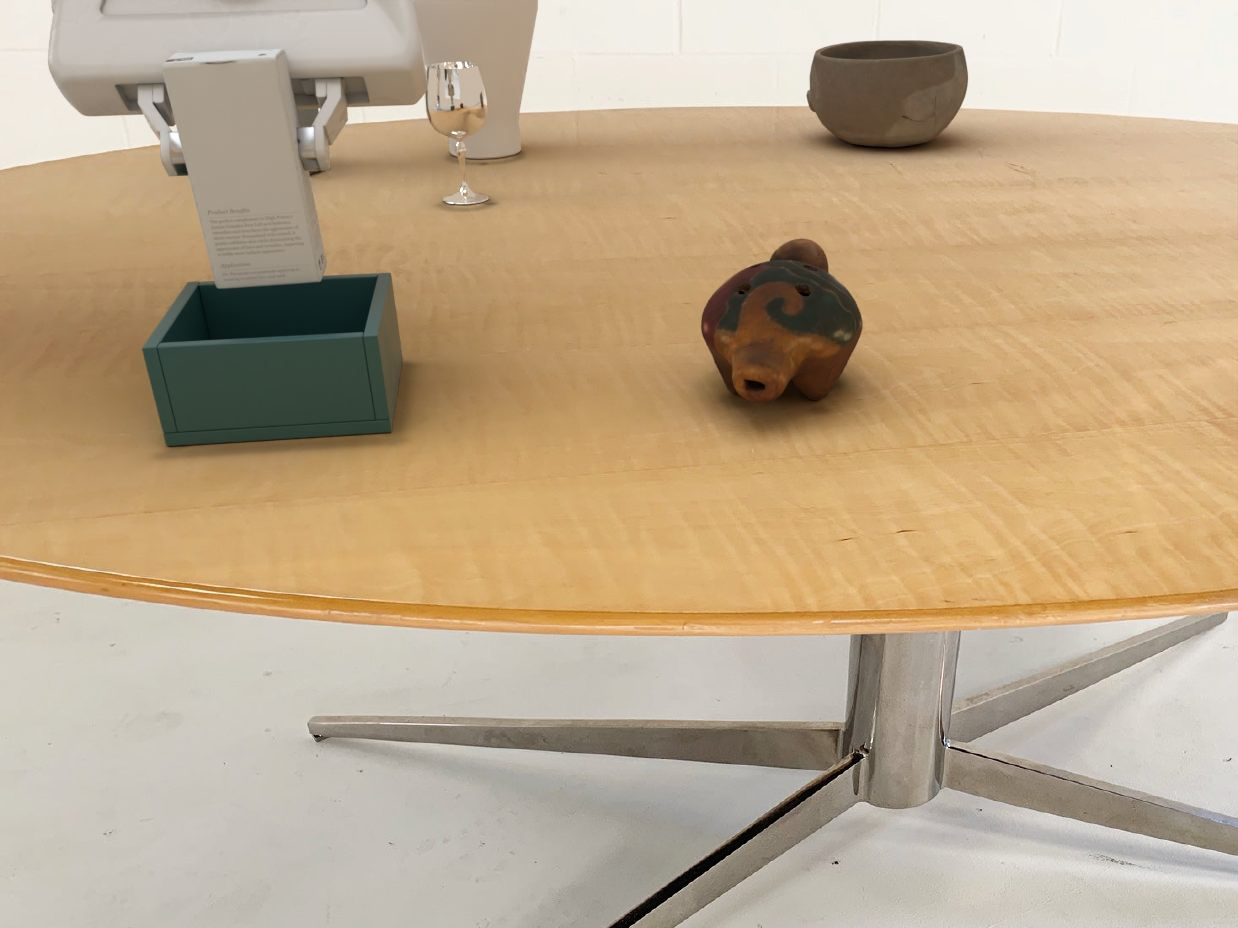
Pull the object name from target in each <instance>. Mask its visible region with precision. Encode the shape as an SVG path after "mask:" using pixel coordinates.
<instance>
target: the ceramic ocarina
mask: <svg viewBox="0 0 1238 928" xmlns="http://www.w3.org/2000/svg"><path fill="white" fill-rule="evenodd" d="M863 324H864V323H863V317H862V313H861V311H860V308H859V306H858V304H857V301H856V299H855V298H854V297H853V296H852V294H851V292H850V291H849V290H848V289H847V287H846V286H845V285H844V284H843V282H841V281H840V280H839V279H837V278H836V277H834V275H832V274H831V273H830V272H829V262H828V258H827V254H826V253H825V251H824V249H823V248H822V246H821V245H820V244H818V243H817V242H815V241H814V240H812V239H808V238H795V239H792V240H789V241H786V242H785V243H783V244H782V245H780V246H779V247H778V248H776V249H775V250H774V251H773V253H772V255H771V256H770V259H769V260H767V261H763V262H760V263H756V264H753V265H751V266H748V267H746V268H744V269H741V270H740V271H738V272H736V273H734V274H733V275H732V276H730V277H729V278H728V279H727V280H725V281H724V282H723V283H722V284H721V285H720V286H719V287H718V288H717V289H716V290H715V291H714V292H713V293H712V295H711V296H710V298H709V299H708V301H707V302H706V304H705V307H704V308H703V311H702V315H701V322H700V330H701V336H702V337H703V340H704V342H705V345H706V347H707V348H708V350H709V352H710V354H711V356H712V359H713V362H714V364H715V367H716V368H717V370H718V372H719V374H720V376H721V378H722V381H723V383H724V385H725V387H726V389H727V390H728V391H730V392H731V393H732V394H734V395H739V397H741V398H743V399H744V400H745V401H747V402H748V403H753V404H759V405H760V404H761V405H764V404H770V403H772V402H774V401H775V400H777V399H778V398H779V397H781V395H782V394H783V393H784V392H785V390H786V388H787V386H788V384H789V383H790V381H792V382H793V384H794V385H795V386H796V387H797V388H798V389H799V390H800V391H801V392H802V393H803V394H804V396H806V397H807V398H808V399H809V400H814V401H816V400H822V399H824V398H826V397H827V395H828V394H829V393H830V392H831V390H832V389H833V387H834V386H835V384H836V383H837V381H838V380H839V378H840V377H841V376H842V374H843V373H844V371H845V369H846V367H847V365H848V362H849V360H850V358H851V356H852V355H853V353H854V351H855V349H856V348H857V344H858V342H859V340H860V338H861V335H862V332H863V328H864V326H863Z"/></svg>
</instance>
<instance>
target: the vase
mask: <svg viewBox="0 0 1238 928" xmlns="http://www.w3.org/2000/svg"><path fill="white" fill-rule="evenodd" d="M413 3H414V7H415V12H416V16H417V21H418V26H419V31H420V36H421V41H422V47H423V53H424V59H425V66H426V69H427V66H428V65H430V64H435V63H444V62H470V63H475V64H477V65H478V68H479V71H480V75H481V78H482V81H483V85H484V89H485V93H486V99H487V117H486V121H485V123H484V125H483V127H482V128H481V129H480V130H479V131H478V132H476V133H475V134H473V135H471V136H469V137H467V138H464V139H463V143H464V144H465V147H466V156H465V159H469V160H491V159H499V158H507V157H512V156H514V155H518V154H519V153H520V152H521V151H522V145H521V143H522V142H521V132H520V131H521V130H520V111H521V106H522V100H523V94H524V88H525V84H526V77H527V72H528V65H529V60H530V56H531V55H530V54H531V48H532V43H533V39H534V32H535V27H536V21H537V14H538V10H539V0H413ZM447 140H448V150H449V153H450V154H451V155H452V156H453V157H456V158H458V157H457V155H456V151H455V148H456V143H457V140H456V139H454V138H450V137H447Z"/></svg>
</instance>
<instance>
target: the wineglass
mask: <svg viewBox="0 0 1238 928" xmlns="http://www.w3.org/2000/svg"><path fill="white" fill-rule="evenodd" d="M426 73H427V81H428V89H427V91H426V93H425V94H424V95H423V97H424V108H425V113H426V117H427V119H428V122H429V124H430V125H431V127H432V128H433V129H434V130H435V131H436V132H438V133H439V134H441V135H443V136H445V137H447V138H448V137H450V138H454V139H456V140H457V143H456V148H455V151H456V155H457V157H456V158H457V161H458V163H459V169H460V179H461V185H460V188H459V190H458V191H457V192H455V193H452V194H449V195H445V196H444V197H443V198H442V201H443V202H444V203H445V204H449V205H457V206H458V205H459V206H460V205H461V206H463V205H464V206H465V205H477V204H481V203H485V202H486V201H488V200H489V199H490V197H489V195H487V194H485V193H481V192H475V191H473V190H472V189H471V188H470V186H469V185H468V182H467V174H466V158H465V156H466V147H465V144H464V143H463V139H464V138H467V137H469V136H471V135H473V134H475V133H476V132H478V131H479V130H480V129H481V128H482V127H483V125H484V123H485V121H486V117H487V99H486V93H485V89H484V85H483V81H482V78H481V75H480V71H479V68H478V65H477V64H475V63H470V62H444V63H435V64H430V65H428V66H427V68H426Z"/></svg>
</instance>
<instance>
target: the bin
mask: <svg viewBox="0 0 1238 928" xmlns="http://www.w3.org/2000/svg"><path fill="white" fill-rule="evenodd" d="M392 278H393V277H392V273H391V272H379V273H378V272H374V273H371V272H370V273H352V274H350V273H349V274H332V275H330V274H329V275H323V277H322V279H321V281H320V282H313V283H301V284H286V285H272V286H258V287H243V288H227V289H219V288H217V287H216V285H215V281H214V280H208V281H207V280H206V281H205V280H204V281H187V282H186V284H185V285H184V286H183V288H182V290H181V291H180V292H179V294H178V295H177V297H176V298H175V300H174V301H173V302H172V304H171V305H170V306H169V308H168V310H167V311H166V312H165V314H164V315H163V316H162V318H161V320H160V321H159V322H158V324H157V326H156V327H155V328H154V330H153V331H152V332H151V334H150V336H149V337H148V338H147V340H146V342H145V343H144V344H143V345H142V347H141V352H142V355H143V360H144V363H145V367H146V370H147V371H146V372H147V375H148V379H149V382H150V383H149V384H150V387H151V391H152V394H153V398H154V402H155V406H156V410H157V413H158V414H157V415H158V419H159V423H160V426H161V431H162V433H163V438H164V442H165V446H166V447H176V446H177V447H179V446H190V445H191V446H192V445H193V446H195V445H209V444H211V445H212V444H225V443H226V444H227V443H240V442H241V443H242V442H258V441H259V442H260V441H272V440H273V441H275V440H290V439H304V438H306V439H307V438H321V437H332V436H333V437H337V436H339V437H340V436H352V435H367V434H383V433H386V434H387V433H392V430H393V424H394V418H395V410H396V405H397V400H398V399H397V398H398V393H399V386H400V379H401V372H402V367H403V361H404V360H403V359H404V358H403V350H402V342H401V335H400V329H399V322H398V321H399V319H398V314H397V306H396V299H395V293H394V285H393V279H392Z"/></svg>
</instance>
